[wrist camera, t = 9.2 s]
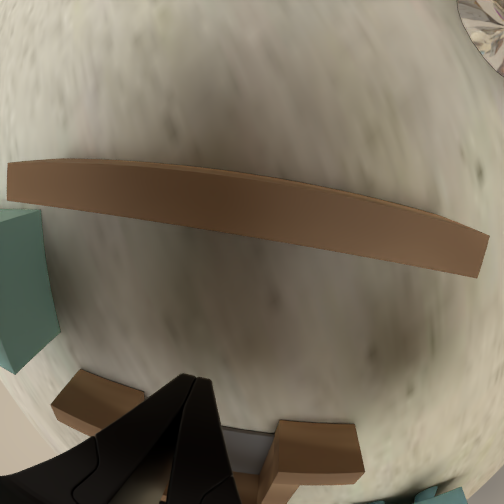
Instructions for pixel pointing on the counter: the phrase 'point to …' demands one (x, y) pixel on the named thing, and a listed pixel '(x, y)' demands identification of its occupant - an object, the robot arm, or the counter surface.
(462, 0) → the wineglass
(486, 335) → the counter surface
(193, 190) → the brown walled enclosure
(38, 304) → the teal block
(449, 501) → the teapot
